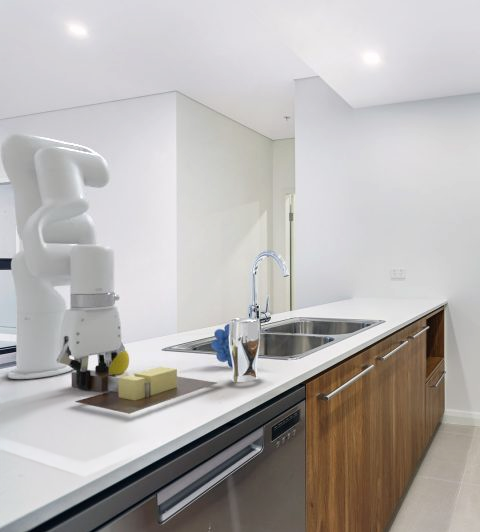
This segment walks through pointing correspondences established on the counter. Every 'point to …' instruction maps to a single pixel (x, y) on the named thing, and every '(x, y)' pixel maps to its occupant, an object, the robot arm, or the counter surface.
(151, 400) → the board
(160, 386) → the butter block
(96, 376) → the knife
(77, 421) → the counter surface
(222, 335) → the grapes
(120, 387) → the butter slice
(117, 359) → the lemon
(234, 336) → the beer glass
